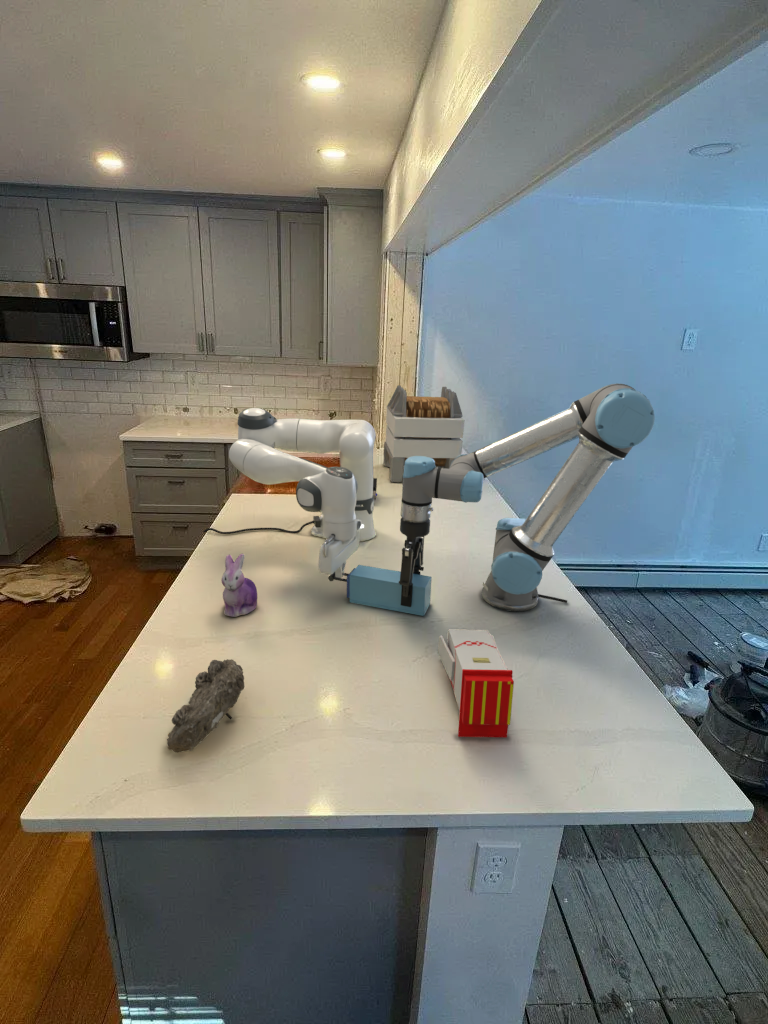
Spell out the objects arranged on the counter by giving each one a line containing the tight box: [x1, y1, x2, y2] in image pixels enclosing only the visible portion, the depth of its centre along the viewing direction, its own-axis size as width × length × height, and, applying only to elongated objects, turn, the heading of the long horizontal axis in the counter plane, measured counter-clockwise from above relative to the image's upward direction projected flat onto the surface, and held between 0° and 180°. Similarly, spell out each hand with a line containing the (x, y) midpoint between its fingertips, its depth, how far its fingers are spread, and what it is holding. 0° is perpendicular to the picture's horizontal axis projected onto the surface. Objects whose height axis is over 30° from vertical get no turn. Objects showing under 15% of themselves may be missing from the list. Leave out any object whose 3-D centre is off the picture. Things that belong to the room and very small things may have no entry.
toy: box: [437, 628, 515, 738], centre depth 117 cm, size 12×13×30 cm
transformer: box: [383, 384, 465, 483], centre depth 268 cm, size 34×33×41 cm
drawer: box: [327, 567, 356, 599], centre depth 152 cm, size 25×6×6 cm, turn 72°
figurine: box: [220, 553, 258, 618], centre depth 144 cm, size 9×10×15 cm
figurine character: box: [373, 477, 378, 500], centre depth 233 cm, size 7×8×15 cm
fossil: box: [166, 658, 245, 754], centre depth 106 cm, size 22×10×15 cm
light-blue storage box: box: [349, 564, 433, 617], centre depth 151 cm, size 21×7×8 cm, turn 72°
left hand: (339, 576), depth 154 cm, fingers closed, pressing on drawer
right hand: (409, 598), depth 150 cm, fingers closed on light-blue storage box, 7 cm apart
